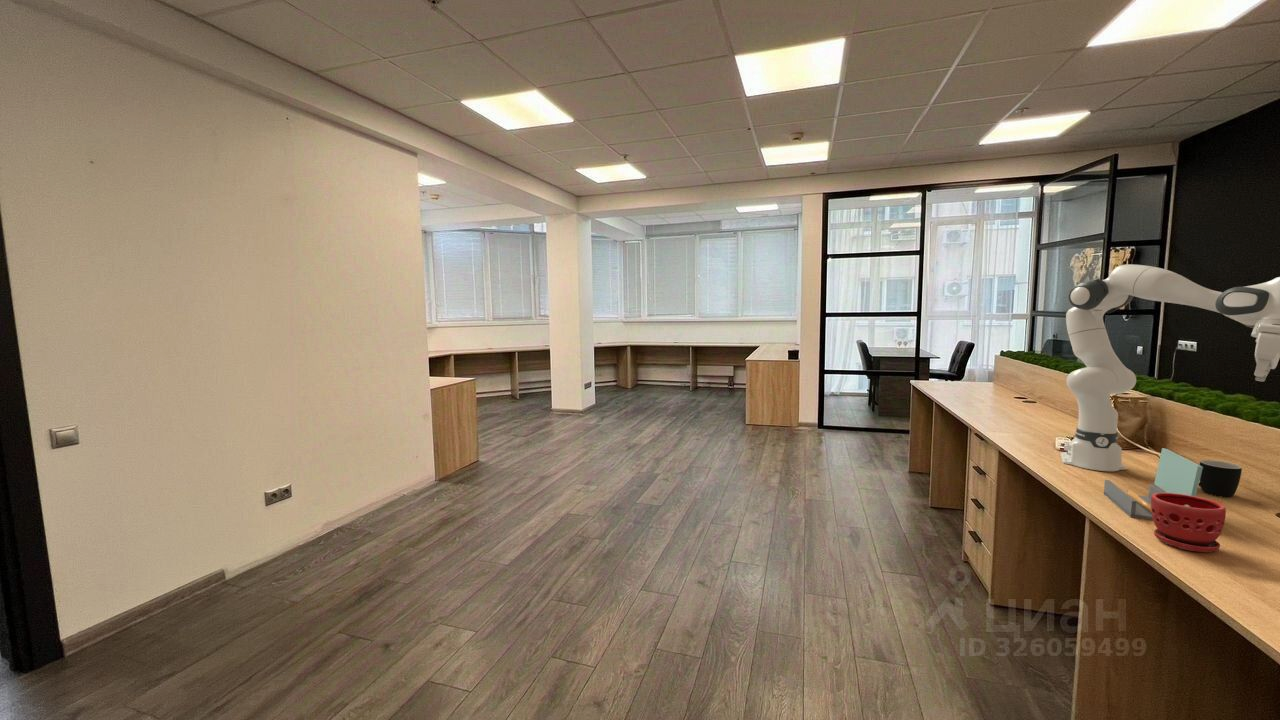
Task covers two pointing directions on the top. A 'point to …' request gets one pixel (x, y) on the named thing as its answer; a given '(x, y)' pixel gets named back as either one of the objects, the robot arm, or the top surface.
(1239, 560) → the top surface
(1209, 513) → the plant pot
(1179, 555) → the top surface
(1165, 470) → the lid
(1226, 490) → the mug
